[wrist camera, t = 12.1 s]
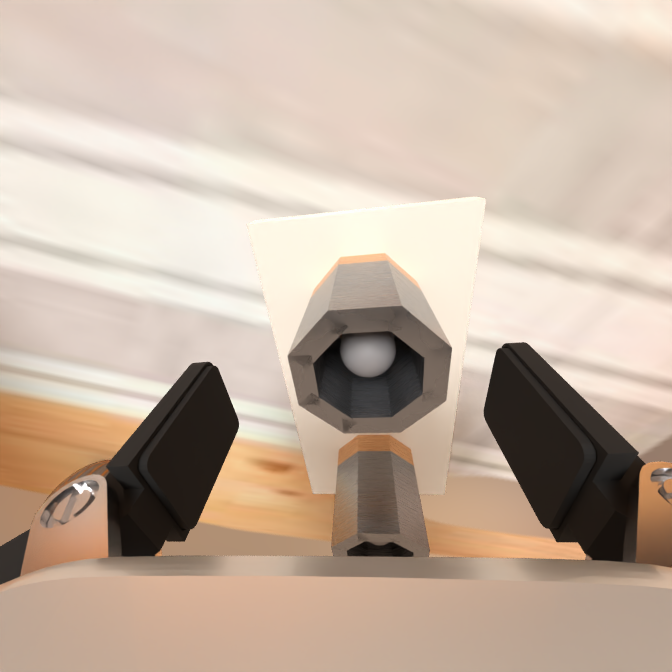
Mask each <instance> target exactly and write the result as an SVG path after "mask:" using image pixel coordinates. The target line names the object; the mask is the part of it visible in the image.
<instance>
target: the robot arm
mask: <svg viewBox="0 0 672 672" xmlns="http://www.w3.org/2000/svg"><path fill="white" fill-rule="evenodd" d="M484 417H485V420H486V423H487V424H488V426H489V428H490V430H491V432H492V434H493V436H494V437H495V439H496V441H497V443H498V445H499V447H500V449H501V450H502V452H503V454H504V456H505V458H506V460H507V462H508V464H509V465H510V467H511V469H512V471H513V473H514V475H515V477H516V478H517V480H518V482H519V484H520V486H521V488H522V489H523V492H524V493H525V495H526V497H527V499H528V501H529V503H530V504H531V506H532V508H533V510H534V512H535V514H536V516H537V517H538V520H539V521H540V523H541V524H542V525H543V526H544V527H545V528H549V529H550V531H551V532H552V534H553V536H554V538H555V540H556V542H578V543H579V545H580V546H581V548H582V549H583V551H584V553H585V554H586V559H585V560H565V559H532V558H462V557H365V556H162V551H161V548H162V546H163V544H164V542H165V540H167V541H185V540H186V538H187V535H188V533H189V531H190V529H193V528H194V527H195V526H196V524H197V522H198V520H199V518H200V515H201V513H202V511H203V509H204V506H205V504H206V502H207V500H208V497H209V495H210V493H211V490H212V488H213V486H214V484H215V481H216V479H217V477H218V474H219V472H220V470H221V468H222V465H223V463H224V461H225V459H226V456H227V454H228V452H229V449H230V447H231V445H232V443H233V440H234V438H235V436H236V433H237V431H238V428H239V421H238V418H237V415H236V413H235V410H234V408H233V405H232V403H231V400H230V397H229V395H228V392H227V390H226V387H225V385H224V382H223V380H222V377H221V375H220V372H219V370H218V368H217V367H216V366H213V364H212V363H210V362H201V363H192V364H191V365H190V366H189V367H188V368H187V370H186V371H185V372H184V373H183V374H182V376H181V377H180V378H179V379H178V380H177V382H176V383H175V384H174V385H173V386H172V388H171V389H170V390H169V391H168V392H167V394H166V395H165V396H164V397H163V398H162V400H161V401H160V402H159V403H158V404H157V406H156V407H155V408H154V409H153V410H152V412H151V413H150V414H149V415H148V416H147V418H146V419H145V420H144V421H143V422H142V424H141V425H140V426H139V427H138V428H137V430H136V431H135V432H134V433H133V434H132V436H131V437H130V438H129V439H128V440H127V442H126V443H125V444H124V445H123V446H122V448H121V449H120V450H119V451H118V452H117V454H116V455H115V456H114V457H113V458H112V460H111V461H110V462H109V463H108V464H107V466H106V468H107V469H108V470H109V471H110V472H109V473H108V475H107V476H106V477H105V478H104V477H103V476H101V475H95V474H92V475H88V476H83V477H81V478H79V479H76V480H74V481H72V482H70V483H68V484H67V485H65V486H63V487H62V488H61V489H59V490H58V491H57V492H55V493H54V494H53V495H51V496H50V497H49V498H48V499H47V500H46V501H45V502H44V503H43V505H42V506H41V507H40V508H39V510H38V511H37V513H36V514H35V516H34V519H33V521H32V523H31V528H30V529H29V530H28V531H26V532H24V533H22V534H21V535H19V536H17V537H16V538H14V539H12V540H11V541H9V542H7V543H5V544H4V545H2V546H0V672H672V463H668V462H661V461H659V462H649V463H647V464H645V463H644V462H643V461H642V460H641V459H640V458H639V457H638V456H637V455H638V453H639V452H638V451H636V450H635V449H634V448H633V447H632V446H631V445H630V444H629V443H628V442H627V441H626V440H625V439H624V438H623V437H622V436H621V435H620V434H619V433H618V432H617V431H616V430H615V429H614V428H613V427H612V426H611V425H610V424H609V423H608V422H607V421H606V420H605V419H604V418H603V417H602V416H601V415H600V414H599V413H598V412H597V411H596V410H595V409H594V408H593V407H592V406H591V405H590V404H589V403H588V402H587V401H586V400H585V399H583V398H582V397H581V396H580V395H579V394H578V393H577V392H576V391H575V390H574V389H573V388H572V387H571V386H570V385H569V384H568V383H567V382H566V381H565V380H564V379H563V378H562V377H561V376H560V375H559V374H558V373H557V372H556V371H555V370H554V369H553V368H552V367H551V366H550V365H549V364H548V363H547V362H546V361H545V360H544V359H543V358H542V357H541V356H540V355H539V354H538V353H537V352H536V351H535V350H534V349H533V348H532V347H530V346H529V345H528V344H527V343H524V342H522V343H506V344H504V345H503V346H502V348H499V349H498V350H497V351H496V355H495V360H494V364H493V369H492V374H491V379H490V383H489V388H488V393H487V397H486V402H485V407H484Z"/></svg>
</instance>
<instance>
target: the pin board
mask: <svg viewBox="0 0 672 672" xmlns="http://www.w3.org/2000/svg"><path fill="white" fill-rule="evenodd" d="M485 203H486V199H485V198H480V197H467V198H457V199H448V200H439V201H430V202H420V203H411V204H402V205H393V206H384V207H374V208H365V209H356V210H347V211H337V212H328V213H319V214H310V215H301V216H291V217H282V218H273V219H264V220H255V221H253V222H251V223H248V224H246V225H247V229H248V233H249V237H250V241H251V245H252V249H253V253H254V258H255V262H256V266H257V270H258V274H259V278H260V282H261V286H262V290H263V294H264V298H265V302H266V306H267V310H268V314H269V318H270V322H271V326H272V330H273V334H274V338H275V343H276V347H277V351H278V355H279V359H280V363H281V367H282V371H283V375H284V379H285V383H286V387H287V391H288V395H289V399H290V403H291V407H292V411H293V415H294V419H295V423H296V428H297V432H298V436H299V440H300V444H301V448H302V452H303V456H304V460H305V464H306V468H307V472H308V476H309V480H310V484H311V488H312V492H313V494H335V493H336V480H337V467H338V454H339V449H340V448H342V447H343V446H344V445H346V444H347V443H348V442H350V441H351V440H352V439H353V438H355V437H356V436H357V435H390V436H392V437H393V438H395V439H396V440H398V441H400V442H401V443H403V444H404V445H406V446H407V447H409V448H410V449H411V453H412V458H413V463H414V469H415V474H416V479H417V485H418V490H419V495H445V488H446V482H447V474H448V467H449V460H450V453H451V446H452V439H453V432H454V424H455V417H456V410H457V403H458V396H459V389H460V381H461V374H462V367H463V360H464V353H465V346H466V339H467V331H468V324H469V317H470V310H471V303H472V296H473V289H474V281H475V274H476V267H477V260H478V253H479V246H480V238H481V231H482V224H483V217H484V210H485ZM379 253H386V254H387V255H388V256H389V257H390V258H391V259H392V260H393V261H395V262H396V263H397V264H398V265H399V266H400V267H401V268H402V269H404V270H405V271H406V272H407V273H408V274H409V275H410V276H411V277H413V278H414V279H415V280H416V281H417V283H418V285H419V287H420V289H421V290H422V292H423V294H424V296H425V298H426V300H427V302H428V303H429V305H430V307H431V309H432V311H433V313H434V315H435V317H436V318H437V320H438V322H439V324H440V326H441V328H442V330H443V332H444V333H445V335H446V337H447V339H448V341H449V343H450V345H451V347H452V355H451V363H450V372H449V381H448V390H447V399H446V401H445V402H444V403H443V404H441V405H440V406H438V407H437V408H435V409H434V410H433V411H431V412H430V413H428V414H427V415H425V416H424V417H423V418H421V419H420V420H418V421H417V422H415V423H414V424H412V425H411V426H410V427H408V428H407V429H405V430H404V431H402V432H401V433H346V434H344V433H342V432H341V431H339V430H338V429H336V428H334V427H333V426H331V425H330V424H328V423H326V422H325V421H323V420H322V419H320V418H318V417H317V416H315V415H314V414H312V413H310V412H309V411H307V410H306V409H304V408H302V407H301V406H299V405H298V400H297V396H296V392H295V387H294V383H293V379H292V374H291V370H290V366H289V361H288V357H287V356H288V353H289V351H290V348H291V346H292V343H293V341H294V338H295V336H296V333H297V331H298V328H299V326H300V323H301V321H302V318H303V316H304V313H305V311H306V308H307V306H308V303H309V301H310V298H311V296H312V293H313V291H314V289H315V287H316V286H317V285H318V284H319V282H320V281H321V280H322V279H323V278H324V276H325V275H326V274H327V273H328V271H329V270H330V269H331V268H332V267H333V265H334V264H335V263H336V262H337V260H338V259H339V258H340V257H345V256H357V255H368V254H379ZM340 353H341V358H342V361H343V362H344V364H345V366H346V367H347V368H348V369H349V370H350V371H351V372H352V373H354V374H356V375H358V376H361V377H375V376H378V375H380V374H382V373H384V372H385V371H387V370H388V369H389V367H390V366H391V365H392V363H393V361H394V358H395V354H396V345H395V340H394V335H393V333H392V332H391V331H382V332H364V333H347V334H342V337H341V346H340ZM369 542H371V541H369ZM371 543H372V544H374V545H379V546H380V545H385V544H387V543H389V542H371Z"/></svg>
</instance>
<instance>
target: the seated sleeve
mask: <svg viewBox="0 0 672 672" xmlns="http://www.w3.org/2000/svg"><path fill="white" fill-rule="evenodd" d="M369 541H371V542H389V543H387V544H385V545H380V546H379V545H374V544H372V543H371V542H369ZM331 547H332V552H333V556H365V557H429V552H430V549H429V544H428V539H427V533H426V528H425V522H424V517H423V512H422V506H421V501H420V496H419V490H418V485H417V479H416V474H415V469H414V463H413V458H412V453H411V449H410V448H409V447H407V446H406V445H404V444H403V443H401V442H400V441H398V440H396V439H395V438H393V437H392V436H390V435H357V436H356V437H355V438H353V439H352V440H351V441H350V442H348V443H347V444H346V445H344V446H343V447H342V448H340V449H339V454H338V467H337V480H336V493H335V506H334V519H333V532H332V546H331Z"/></svg>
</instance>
